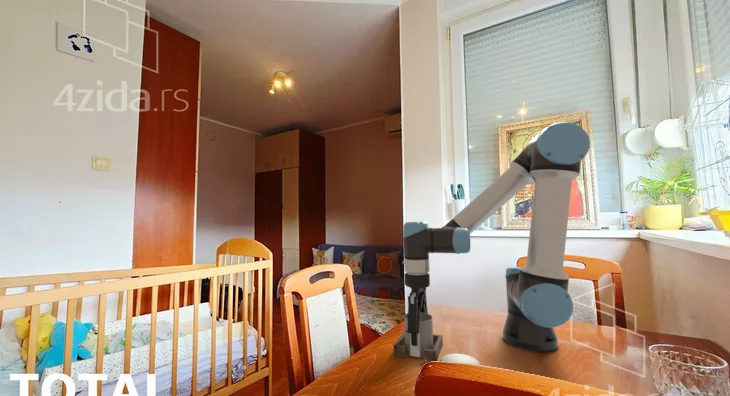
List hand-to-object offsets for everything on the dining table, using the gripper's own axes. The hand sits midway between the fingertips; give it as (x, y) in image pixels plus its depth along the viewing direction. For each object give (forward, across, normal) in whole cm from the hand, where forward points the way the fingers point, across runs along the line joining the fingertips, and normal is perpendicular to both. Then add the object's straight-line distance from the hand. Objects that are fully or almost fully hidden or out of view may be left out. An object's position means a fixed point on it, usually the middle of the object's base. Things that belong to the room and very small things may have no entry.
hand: (419, 348), depth 89 cm
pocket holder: (+1, 0, 0) cm, 1 cm away
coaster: (+1, +4, +12) cm, 13 cm away
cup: (+1, 0, 0) cm, 1 cm away
